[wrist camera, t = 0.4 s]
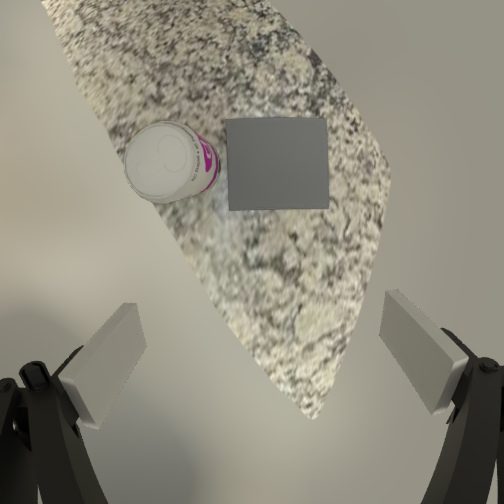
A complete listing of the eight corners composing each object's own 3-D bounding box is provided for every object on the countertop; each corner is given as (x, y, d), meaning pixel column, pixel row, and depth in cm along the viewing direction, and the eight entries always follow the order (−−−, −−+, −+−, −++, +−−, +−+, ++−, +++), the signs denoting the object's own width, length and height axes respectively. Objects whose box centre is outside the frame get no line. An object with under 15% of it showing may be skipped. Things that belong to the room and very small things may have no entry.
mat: (226, 119, 36) (226, 119, 36) (325, 119, 36) (326, 118, 36) (229, 210, 40) (229, 210, 39) (328, 208, 39) (328, 208, 39)
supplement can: (207, 129, 37) (179, 102, 22) (230, 180, 39) (214, 181, 24) (157, 154, 38) (107, 144, 23) (179, 204, 40) (138, 219, 25)
